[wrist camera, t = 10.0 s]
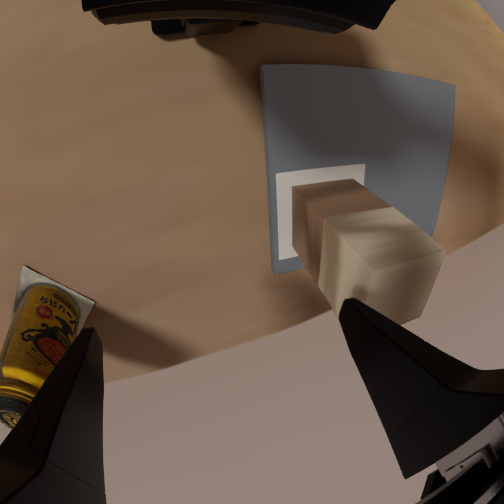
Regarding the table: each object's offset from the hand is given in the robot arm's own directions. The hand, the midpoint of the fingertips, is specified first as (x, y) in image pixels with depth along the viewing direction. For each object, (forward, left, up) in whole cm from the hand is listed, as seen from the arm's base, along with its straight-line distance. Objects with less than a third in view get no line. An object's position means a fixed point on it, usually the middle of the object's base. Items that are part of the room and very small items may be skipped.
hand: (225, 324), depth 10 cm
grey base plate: (0, +14, -12) cm, 18 cm away
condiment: (+8, -16, -12) cm, 22 cm away
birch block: (+3, +9, -6) cm, 11 cm away
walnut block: (+3, +9, -11) cm, 15 cm away
